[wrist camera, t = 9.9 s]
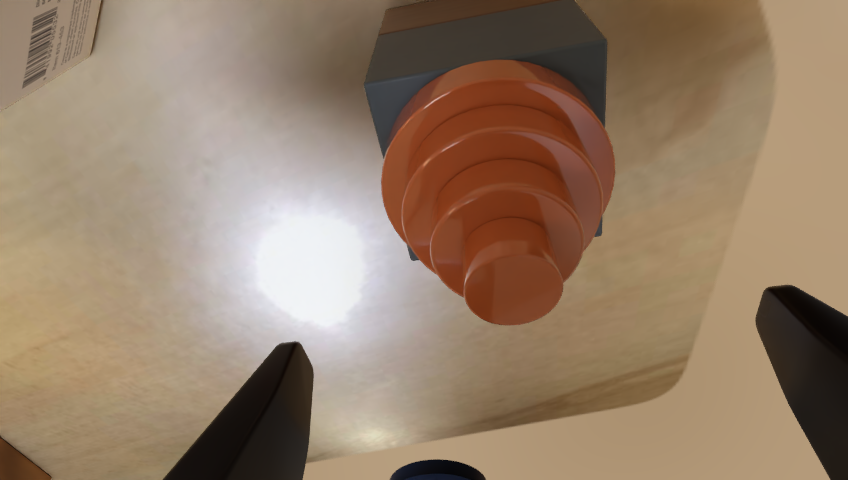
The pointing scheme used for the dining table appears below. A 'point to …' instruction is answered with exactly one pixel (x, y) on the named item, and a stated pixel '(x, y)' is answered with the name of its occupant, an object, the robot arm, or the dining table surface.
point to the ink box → (42, 42)
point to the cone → (499, 184)
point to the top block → (487, 56)
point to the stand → (17, 465)
